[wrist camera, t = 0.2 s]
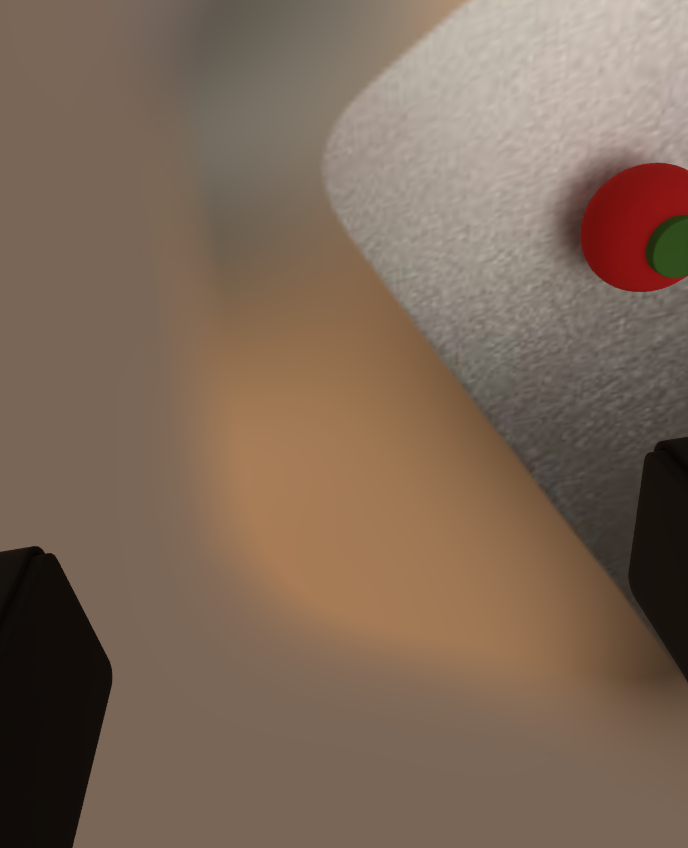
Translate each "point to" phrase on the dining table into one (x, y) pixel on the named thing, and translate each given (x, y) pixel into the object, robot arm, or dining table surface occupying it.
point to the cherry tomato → (639, 228)
